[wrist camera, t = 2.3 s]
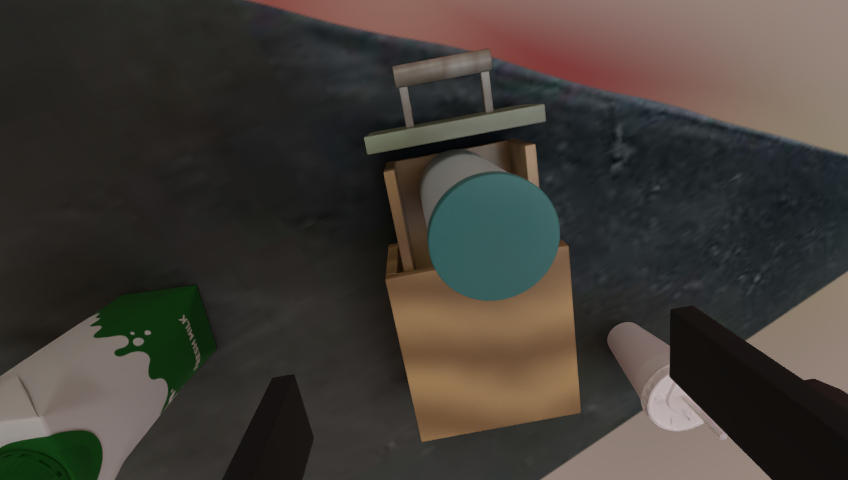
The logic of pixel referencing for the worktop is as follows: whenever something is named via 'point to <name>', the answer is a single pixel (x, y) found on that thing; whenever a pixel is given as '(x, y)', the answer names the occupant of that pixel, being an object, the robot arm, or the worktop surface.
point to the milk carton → (100, 386)
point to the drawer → (407, 172)
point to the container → (486, 226)
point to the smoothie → (656, 379)
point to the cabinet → (485, 350)
